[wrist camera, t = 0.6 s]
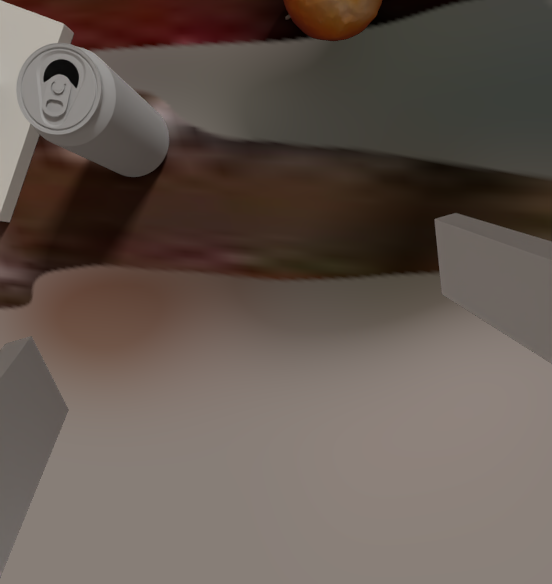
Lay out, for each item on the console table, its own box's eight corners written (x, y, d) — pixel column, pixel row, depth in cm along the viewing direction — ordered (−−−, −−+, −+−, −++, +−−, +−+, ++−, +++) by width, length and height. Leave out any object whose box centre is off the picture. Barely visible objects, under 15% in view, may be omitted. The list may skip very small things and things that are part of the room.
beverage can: (178, 113, 39) (114, 43, 27) (164, 185, 40) (95, 148, 28) (110, 100, 40) (18, 27, 28) (97, 171, 40) (1, 129, 28)
